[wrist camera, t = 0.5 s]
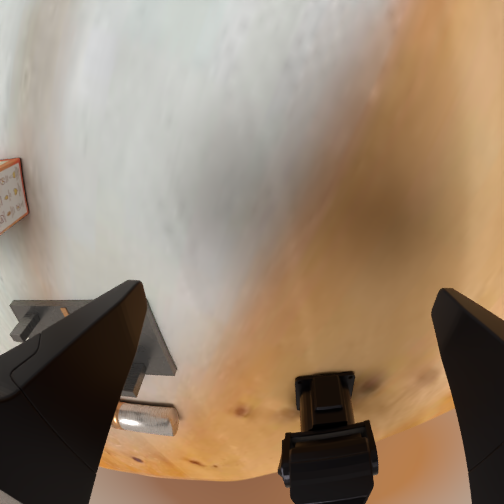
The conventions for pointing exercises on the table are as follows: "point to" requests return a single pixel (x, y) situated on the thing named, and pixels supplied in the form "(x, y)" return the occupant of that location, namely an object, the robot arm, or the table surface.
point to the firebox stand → (49, 312)
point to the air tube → (146, 419)
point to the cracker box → (11, 194)
